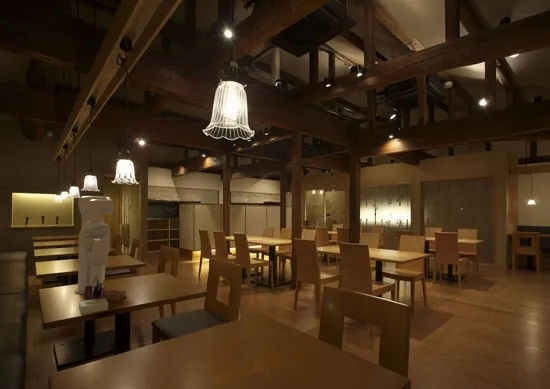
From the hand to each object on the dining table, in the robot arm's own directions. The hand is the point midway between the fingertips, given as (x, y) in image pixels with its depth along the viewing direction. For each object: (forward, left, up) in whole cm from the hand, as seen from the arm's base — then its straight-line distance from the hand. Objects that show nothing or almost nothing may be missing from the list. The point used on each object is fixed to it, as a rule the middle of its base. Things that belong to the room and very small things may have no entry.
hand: (97, 295), depth 166 cm
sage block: (+5, -1, -6) cm, 8 cm away
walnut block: (-14, +4, -6) cm, 16 cm away
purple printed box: (0, -1, -1) cm, 2 cm away
